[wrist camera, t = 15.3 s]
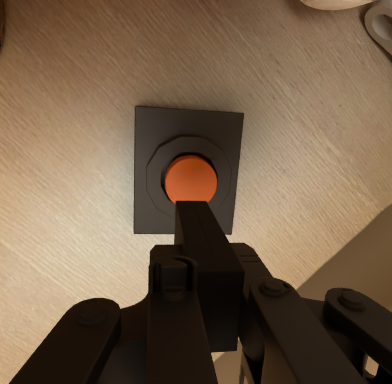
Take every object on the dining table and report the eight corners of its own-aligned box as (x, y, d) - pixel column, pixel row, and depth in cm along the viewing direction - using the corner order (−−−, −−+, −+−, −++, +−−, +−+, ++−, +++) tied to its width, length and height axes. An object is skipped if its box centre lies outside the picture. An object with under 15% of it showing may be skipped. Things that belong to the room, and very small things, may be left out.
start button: (165, 153, 24) (166, 157, 22) (215, 155, 24) (219, 159, 23) (163, 201, 25) (164, 208, 23) (211, 203, 25) (215, 209, 24)
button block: (136, 106, 26) (133, 105, 22) (237, 112, 27) (251, 113, 23) (135, 225, 29) (132, 242, 25) (226, 226, 30) (237, 243, 26)
